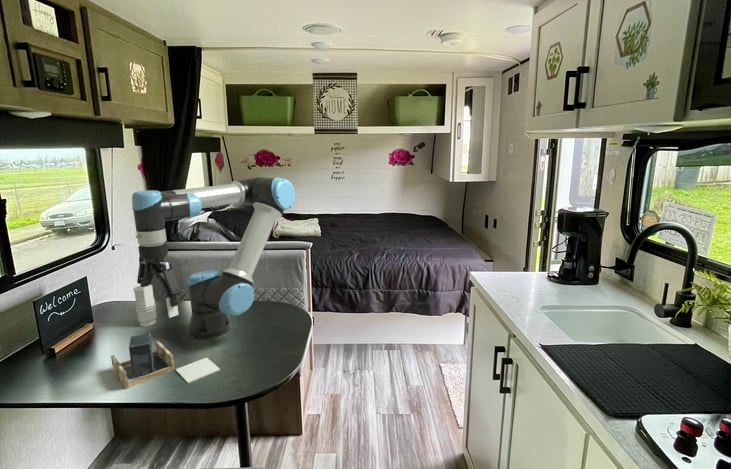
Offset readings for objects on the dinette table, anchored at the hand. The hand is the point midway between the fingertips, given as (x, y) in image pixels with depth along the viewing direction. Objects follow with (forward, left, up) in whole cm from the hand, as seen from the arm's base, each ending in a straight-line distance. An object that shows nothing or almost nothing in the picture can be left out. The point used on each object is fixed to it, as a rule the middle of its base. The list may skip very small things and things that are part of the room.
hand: (161, 311), depth 122 cm
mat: (+7, +6, -20) cm, 22 cm away
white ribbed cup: (-42, +6, -20) cm, 47 cm away
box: (-6, -6, -20) cm, 22 cm away
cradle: (-6, -6, -20) cm, 22 cm away
